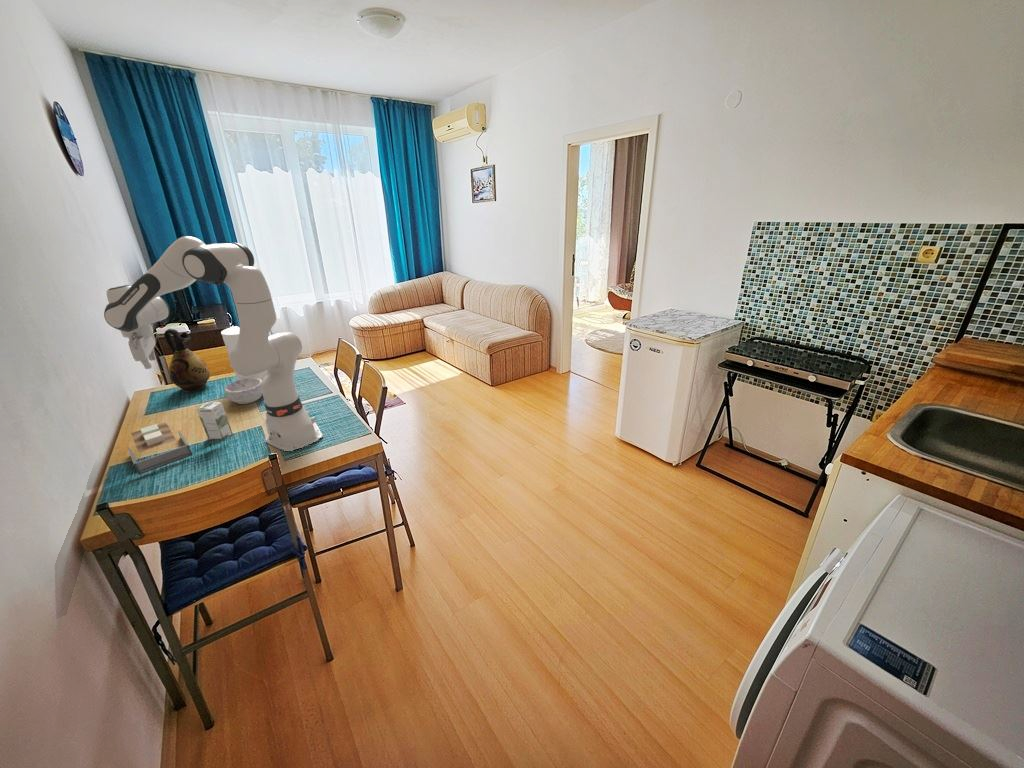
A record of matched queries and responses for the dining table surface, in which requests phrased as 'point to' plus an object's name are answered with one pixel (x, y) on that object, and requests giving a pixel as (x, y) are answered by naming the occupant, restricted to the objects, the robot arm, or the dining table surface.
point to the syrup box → (214, 420)
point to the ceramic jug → (185, 364)
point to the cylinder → (230, 341)
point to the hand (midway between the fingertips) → (151, 363)
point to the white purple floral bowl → (244, 390)
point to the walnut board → (167, 437)
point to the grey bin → (162, 458)
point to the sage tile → (150, 429)
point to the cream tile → (153, 438)
